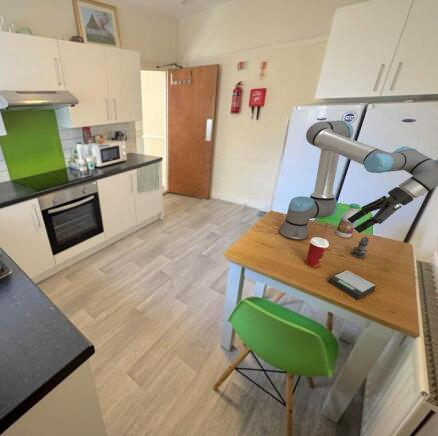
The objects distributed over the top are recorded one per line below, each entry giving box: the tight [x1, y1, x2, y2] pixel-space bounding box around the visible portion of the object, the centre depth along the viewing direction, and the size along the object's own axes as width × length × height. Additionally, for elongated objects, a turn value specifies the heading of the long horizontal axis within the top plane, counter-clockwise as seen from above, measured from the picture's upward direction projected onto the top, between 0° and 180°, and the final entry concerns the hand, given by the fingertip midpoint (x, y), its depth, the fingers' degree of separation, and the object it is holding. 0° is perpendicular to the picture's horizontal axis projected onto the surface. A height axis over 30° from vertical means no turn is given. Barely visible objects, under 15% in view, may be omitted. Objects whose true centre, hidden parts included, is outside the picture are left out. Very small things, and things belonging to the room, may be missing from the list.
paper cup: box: [305, 236, 330, 268], centre depth 119 cm, size 8×8×14 cm
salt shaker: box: [351, 235, 370, 259], centre depth 124 cm, size 6×6×12 cm
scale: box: [327, 269, 377, 300], centre depth 106 cm, size 12×12×3 cm
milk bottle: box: [335, 203, 361, 239], centre depth 140 cm, size 8×8×20 cm
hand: (352, 225), depth 107 cm, fingers open, 13 cm apart
